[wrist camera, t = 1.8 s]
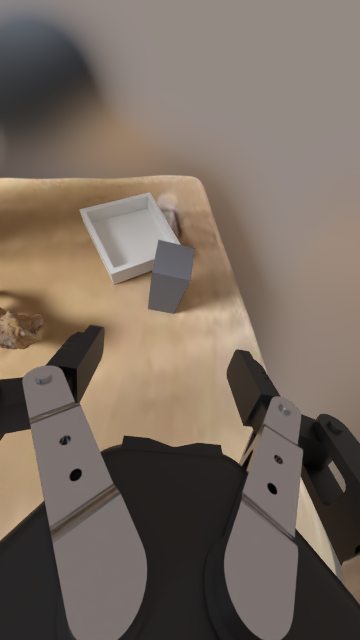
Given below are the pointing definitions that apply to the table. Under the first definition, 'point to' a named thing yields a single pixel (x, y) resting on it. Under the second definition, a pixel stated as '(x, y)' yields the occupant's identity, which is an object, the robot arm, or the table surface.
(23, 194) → the table surface
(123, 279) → the tray
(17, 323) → the lion figurine
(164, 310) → the handle block
